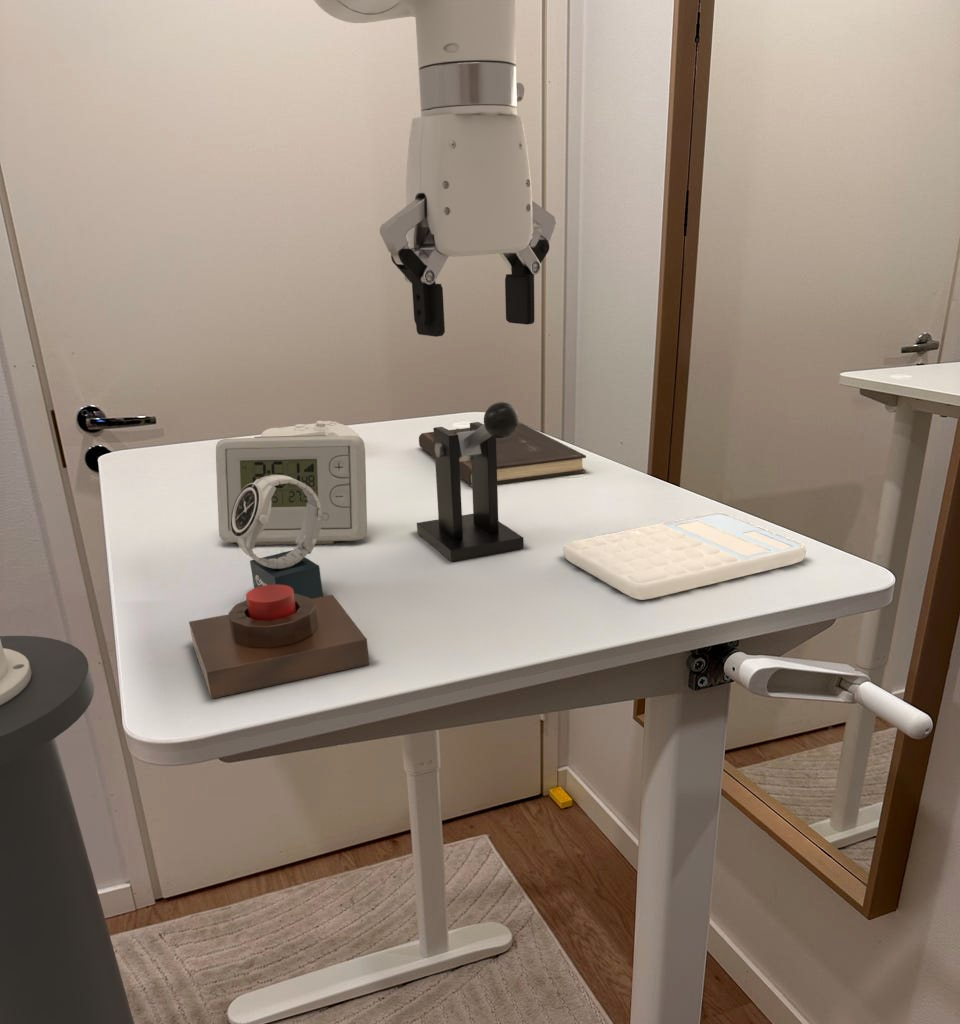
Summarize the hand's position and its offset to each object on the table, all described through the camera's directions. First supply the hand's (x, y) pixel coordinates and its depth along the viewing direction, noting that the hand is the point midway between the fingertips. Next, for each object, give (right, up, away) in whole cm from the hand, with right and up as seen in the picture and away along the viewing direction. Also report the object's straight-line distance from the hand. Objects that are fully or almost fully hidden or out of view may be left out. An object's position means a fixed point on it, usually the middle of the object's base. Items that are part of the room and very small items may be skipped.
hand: (476, 328), depth 77 cm
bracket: (-1, -16, +18) cm, 24 cm away
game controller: (-25, 0, +54) cm, 60 cm away
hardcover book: (+3, -2, +48) cm, 48 cm away
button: (-16, -25, -7) cm, 30 cm away
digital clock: (-20, -16, +21) cm, 33 cm away
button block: (-16, -28, -5) cm, 32 cm away
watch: (-17, -23, +6) cm, 29 cm away
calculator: (+20, -19, +11) cm, 30 cm away
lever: (+1, -9, +9) cm, 12 cm away
